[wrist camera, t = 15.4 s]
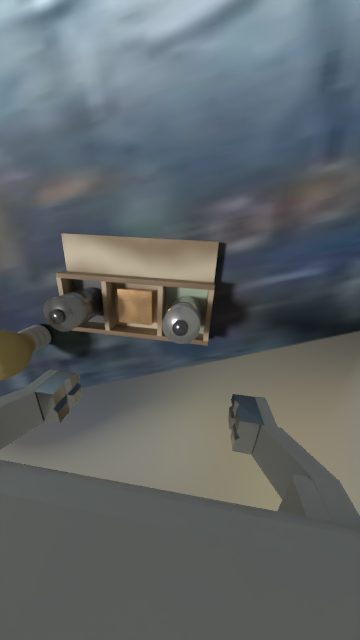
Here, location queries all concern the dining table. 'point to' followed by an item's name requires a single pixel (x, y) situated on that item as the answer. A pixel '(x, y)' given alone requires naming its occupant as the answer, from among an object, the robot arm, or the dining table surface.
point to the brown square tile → (136, 306)
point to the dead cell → (73, 308)
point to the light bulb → (20, 348)
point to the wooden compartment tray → (140, 278)
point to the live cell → (182, 320)
